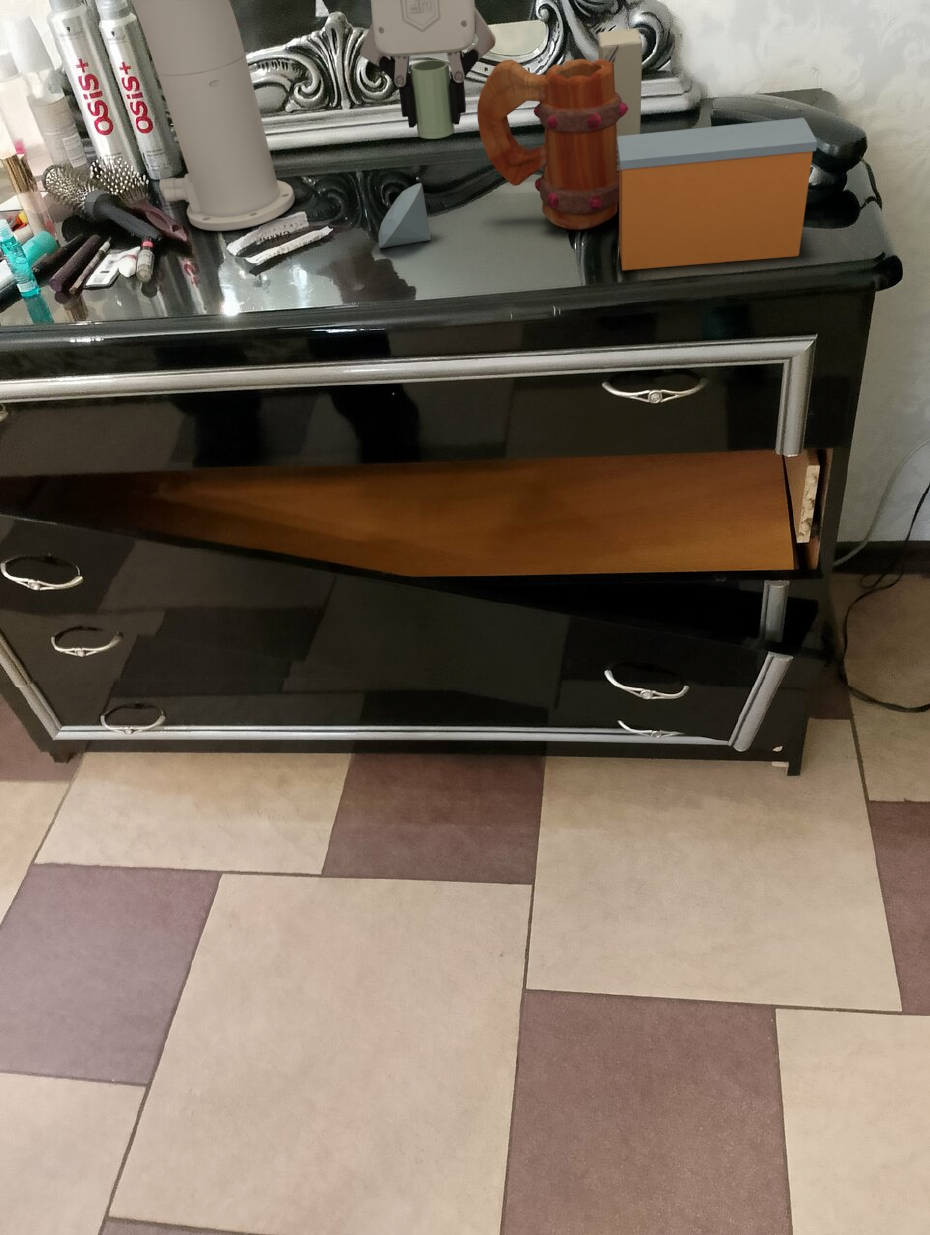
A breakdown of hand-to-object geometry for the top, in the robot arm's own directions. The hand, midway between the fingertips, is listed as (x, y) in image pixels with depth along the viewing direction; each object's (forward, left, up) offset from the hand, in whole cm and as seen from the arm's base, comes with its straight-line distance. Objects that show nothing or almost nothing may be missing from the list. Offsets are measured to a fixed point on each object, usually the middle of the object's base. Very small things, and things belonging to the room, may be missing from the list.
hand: (435, 120), depth 101 cm
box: (+20, +4, -8) cm, 22 cm away
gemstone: (-3, -12, -8) cm, 15 cm away
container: (+27, -20, -8) cm, 34 cm away
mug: (+13, -10, -8) cm, 18 cm away
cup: (0, 0, -1) cm, 1 cm away
